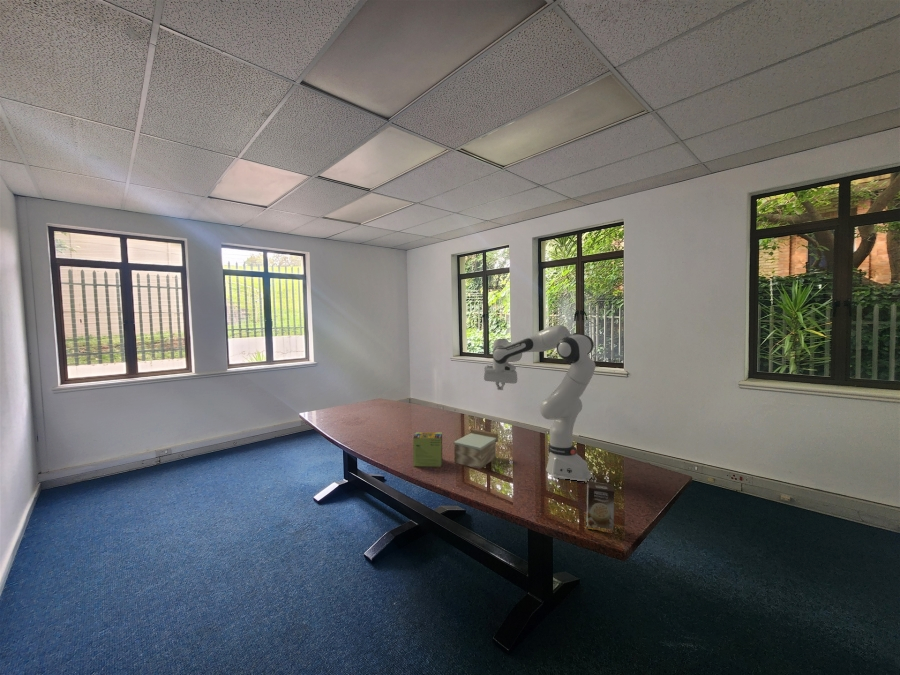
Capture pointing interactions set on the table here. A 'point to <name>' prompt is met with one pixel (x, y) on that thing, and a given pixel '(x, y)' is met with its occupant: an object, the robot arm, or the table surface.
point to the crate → (474, 455)
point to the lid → (477, 439)
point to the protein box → (427, 449)
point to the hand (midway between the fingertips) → (500, 389)
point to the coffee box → (600, 505)
